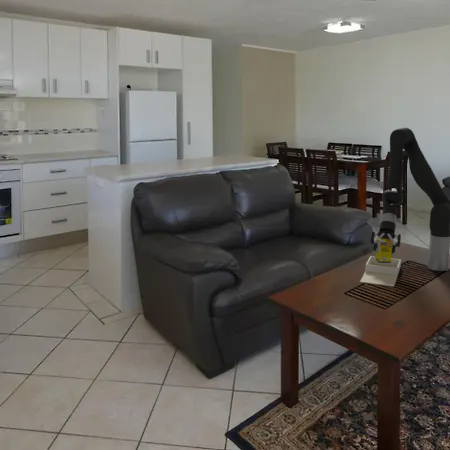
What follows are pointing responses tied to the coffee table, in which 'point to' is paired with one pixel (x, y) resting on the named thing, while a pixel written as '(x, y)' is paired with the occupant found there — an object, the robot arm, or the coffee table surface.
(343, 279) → the coffee table surface
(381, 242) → the supplement box
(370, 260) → the box
